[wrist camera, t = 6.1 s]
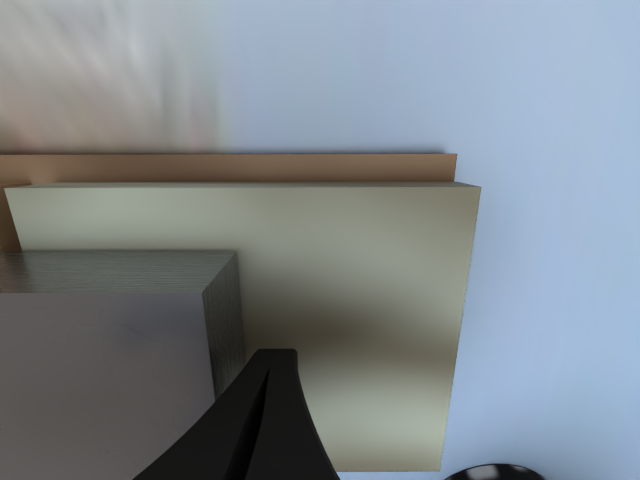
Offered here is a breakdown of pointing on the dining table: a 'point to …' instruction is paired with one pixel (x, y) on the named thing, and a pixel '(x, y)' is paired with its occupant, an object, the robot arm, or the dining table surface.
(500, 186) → the dining table surface
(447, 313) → the tan piece
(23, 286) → the metal block
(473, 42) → the dining table surface
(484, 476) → the white-spotted black cylinder
